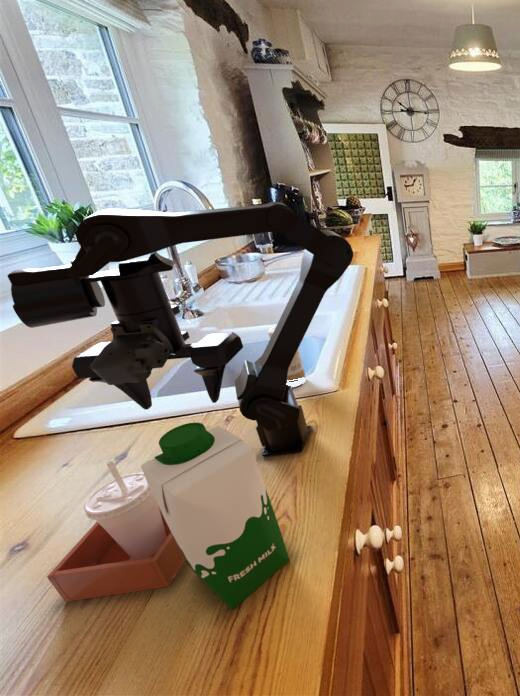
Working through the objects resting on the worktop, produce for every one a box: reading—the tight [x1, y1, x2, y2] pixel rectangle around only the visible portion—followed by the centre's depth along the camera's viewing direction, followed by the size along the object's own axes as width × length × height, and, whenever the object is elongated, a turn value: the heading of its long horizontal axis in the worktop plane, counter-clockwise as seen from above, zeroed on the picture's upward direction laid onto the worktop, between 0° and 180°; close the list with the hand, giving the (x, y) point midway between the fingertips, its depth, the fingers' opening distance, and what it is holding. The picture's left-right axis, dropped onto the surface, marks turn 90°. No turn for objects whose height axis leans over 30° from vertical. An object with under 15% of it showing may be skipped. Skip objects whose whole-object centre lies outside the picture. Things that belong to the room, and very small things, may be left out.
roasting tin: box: [46, 508, 187, 603], centre depth 52 cm, size 11×11×4 cm
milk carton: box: [140, 421, 291, 611], centre depth 46 cm, size 9×9×20 cm
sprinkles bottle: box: [267, 325, 306, 382], centre depth 87 cm, size 5×5×13 cm
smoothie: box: [83, 460, 167, 560], centre depth 50 cm, size 6×6×14 cm
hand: (182, 404), depth 61 cm, fingers open, 9 cm apart
